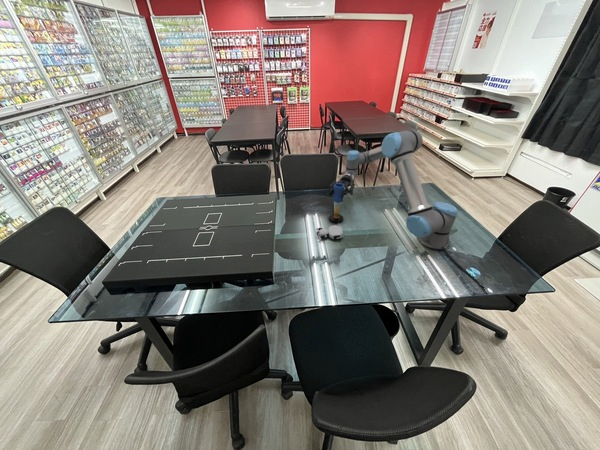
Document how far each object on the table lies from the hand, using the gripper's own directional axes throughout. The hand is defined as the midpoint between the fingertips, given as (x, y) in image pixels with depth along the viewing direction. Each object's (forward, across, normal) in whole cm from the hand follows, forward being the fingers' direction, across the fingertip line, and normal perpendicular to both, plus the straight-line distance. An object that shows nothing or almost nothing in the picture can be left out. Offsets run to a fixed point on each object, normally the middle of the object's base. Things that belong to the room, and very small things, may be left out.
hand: (336, 194), depth 143 cm
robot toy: (+13, -2, -20) cm, 24 cm away
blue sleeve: (-5, 0, -6) cm, 8 cm away
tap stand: (-5, 0, -20) cm, 21 cm away
